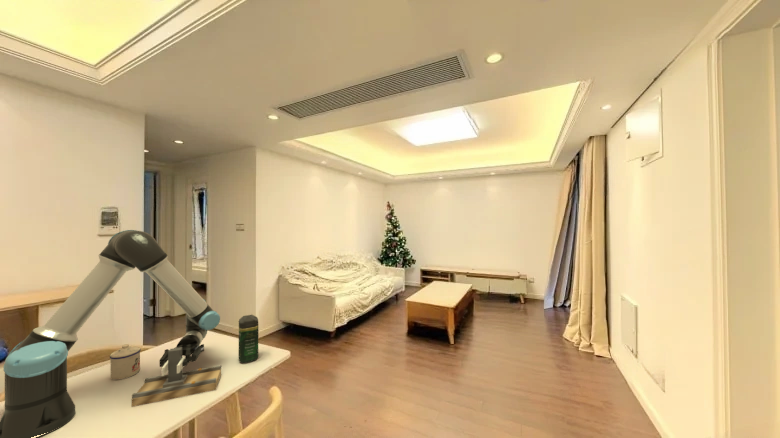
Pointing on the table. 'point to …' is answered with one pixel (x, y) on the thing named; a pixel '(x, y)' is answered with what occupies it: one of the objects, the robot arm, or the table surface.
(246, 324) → the coffee jar
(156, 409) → the table surface
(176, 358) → the fader tab
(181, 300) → the robot arm
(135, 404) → the fader console
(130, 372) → the teacup with lid
